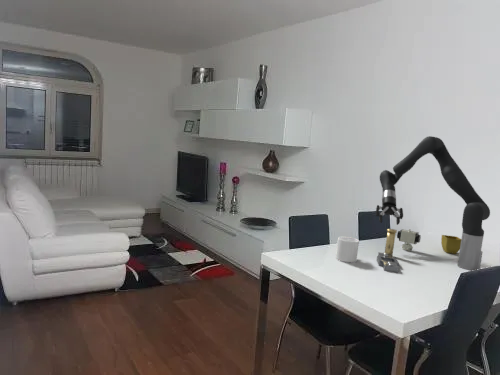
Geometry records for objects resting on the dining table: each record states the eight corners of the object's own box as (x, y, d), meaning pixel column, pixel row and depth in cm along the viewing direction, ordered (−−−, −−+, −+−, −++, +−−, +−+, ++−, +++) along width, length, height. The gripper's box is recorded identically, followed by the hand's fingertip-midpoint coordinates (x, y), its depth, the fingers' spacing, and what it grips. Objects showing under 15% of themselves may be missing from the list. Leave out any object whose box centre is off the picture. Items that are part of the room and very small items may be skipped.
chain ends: (393, 259, 200) (393, 253, 199) (401, 273, 177) (402, 266, 177) (374, 256, 201) (375, 250, 201) (380, 270, 179) (381, 263, 178)
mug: (348, 264, 184) (351, 242, 183) (331, 258, 191) (333, 237, 190) (363, 260, 192) (365, 240, 191) (346, 254, 200) (348, 235, 198)
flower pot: (454, 251, 229) (456, 236, 228) (461, 255, 220) (463, 240, 219) (439, 249, 229) (441, 234, 228) (444, 253, 221) (447, 238, 220)
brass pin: (392, 255, 207) (395, 229, 206) (393, 257, 202) (397, 231, 201) (383, 253, 208) (386, 228, 206) (384, 256, 203) (387, 230, 202)
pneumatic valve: (416, 253, 216) (419, 232, 214) (395, 248, 223) (398, 227, 221) (419, 251, 220) (422, 230, 219) (397, 246, 227) (400, 226, 226)
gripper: (377, 194, 221) (377, 217, 211) (403, 197, 219) (404, 220, 209) (375, 202, 227) (374, 225, 217) (400, 205, 224) (401, 228, 215)
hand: (389, 222), depth 213 cm, fingers open, 8 cm apart
